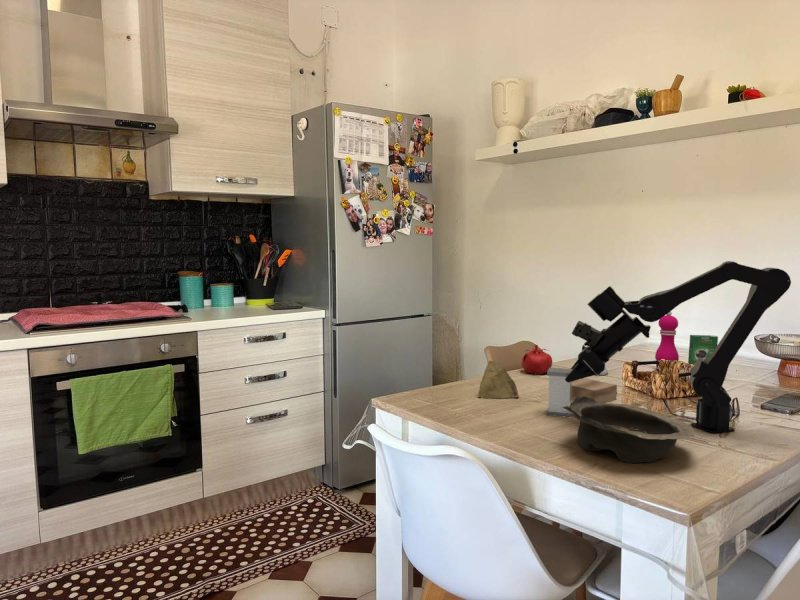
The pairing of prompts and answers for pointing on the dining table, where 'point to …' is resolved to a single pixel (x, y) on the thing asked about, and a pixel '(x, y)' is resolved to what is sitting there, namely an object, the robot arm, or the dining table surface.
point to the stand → (594, 390)
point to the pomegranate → (536, 361)
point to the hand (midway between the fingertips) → (568, 377)
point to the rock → (497, 383)
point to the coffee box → (701, 347)
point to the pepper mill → (667, 338)
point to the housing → (559, 392)
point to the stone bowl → (627, 430)
